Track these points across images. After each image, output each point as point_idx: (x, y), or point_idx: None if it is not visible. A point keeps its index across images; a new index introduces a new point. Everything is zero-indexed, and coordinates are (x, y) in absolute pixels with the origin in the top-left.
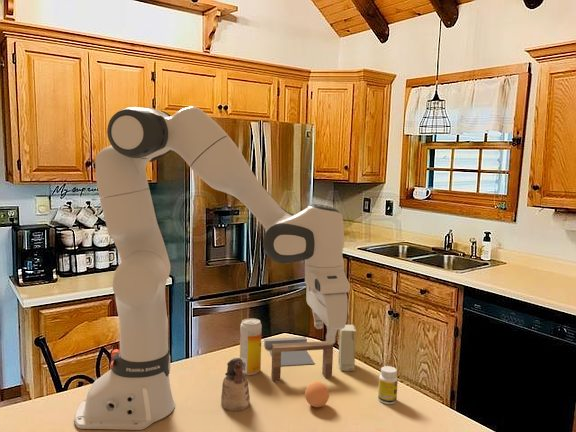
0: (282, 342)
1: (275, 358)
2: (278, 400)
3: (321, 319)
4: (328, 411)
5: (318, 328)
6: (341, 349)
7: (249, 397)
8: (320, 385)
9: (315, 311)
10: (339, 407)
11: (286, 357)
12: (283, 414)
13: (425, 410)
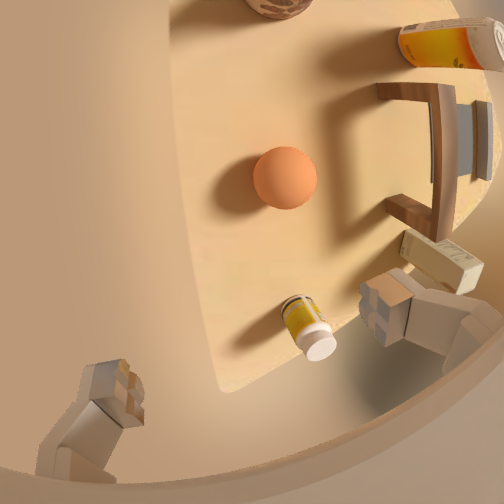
0: (485, 134)
1: (416, 86)
2: (296, 82)
3: (94, 495)
4: (251, 198)
5: (361, 294)
6: (434, 250)
7: (279, 13)
8: (286, 193)
9: (358, 462)
10: (269, 222)
11: None
12: (231, 92)
13: (262, 355)
